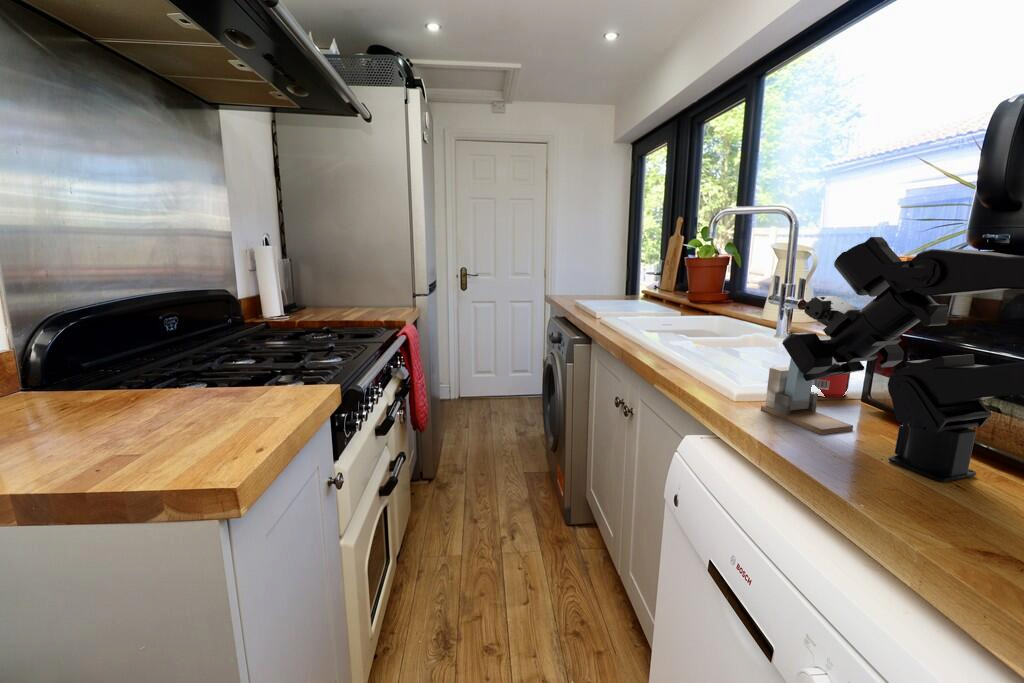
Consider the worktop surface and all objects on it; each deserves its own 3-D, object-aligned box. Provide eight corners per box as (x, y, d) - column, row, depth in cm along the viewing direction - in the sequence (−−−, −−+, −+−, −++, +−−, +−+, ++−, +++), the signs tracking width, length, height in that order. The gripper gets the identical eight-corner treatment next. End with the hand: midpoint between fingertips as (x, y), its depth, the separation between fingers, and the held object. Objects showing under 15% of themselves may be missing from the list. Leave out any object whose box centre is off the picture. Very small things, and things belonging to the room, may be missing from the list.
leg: (808, 408, 80) (820, 344, 77) (789, 410, 79) (801, 345, 76) (799, 404, 82) (811, 341, 79) (781, 406, 81) (792, 343, 78)
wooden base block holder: (852, 430, 74) (859, 382, 73) (821, 434, 72) (828, 386, 71) (789, 406, 85) (794, 365, 84) (760, 409, 84) (765, 367, 82)
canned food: (856, 398, 90) (864, 343, 88) (814, 398, 90) (821, 342, 88) (830, 387, 98) (837, 335, 96) (791, 387, 98) (798, 335, 96)
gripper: (893, 278, 73) (821, 337, 85) (799, 279, 68) (737, 342, 80) (944, 334, 67) (859, 390, 79) (844, 341, 62) (770, 399, 74)
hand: (806, 378), depth 78 cm, fingers closed, pressing on leg
